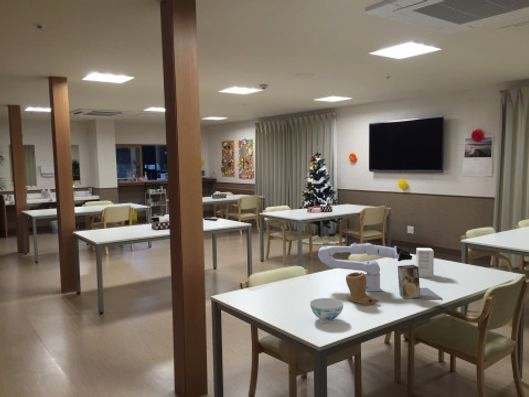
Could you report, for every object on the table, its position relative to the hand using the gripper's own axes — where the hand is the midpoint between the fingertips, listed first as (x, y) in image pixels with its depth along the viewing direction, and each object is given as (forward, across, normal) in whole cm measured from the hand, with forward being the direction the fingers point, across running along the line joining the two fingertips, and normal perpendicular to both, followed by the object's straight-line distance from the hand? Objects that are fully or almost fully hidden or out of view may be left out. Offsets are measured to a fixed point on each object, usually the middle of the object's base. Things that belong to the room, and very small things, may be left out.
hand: (410, 256), depth 238 cm
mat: (+9, -6, +18) cm, 21 cm away
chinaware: (-41, -53, +24) cm, 71 cm away
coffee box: (+1, -13, +19) cm, 23 cm away
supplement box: (+17, +34, +18) cm, 43 cm away
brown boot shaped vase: (-25, -25, +23) cm, 42 cm away
